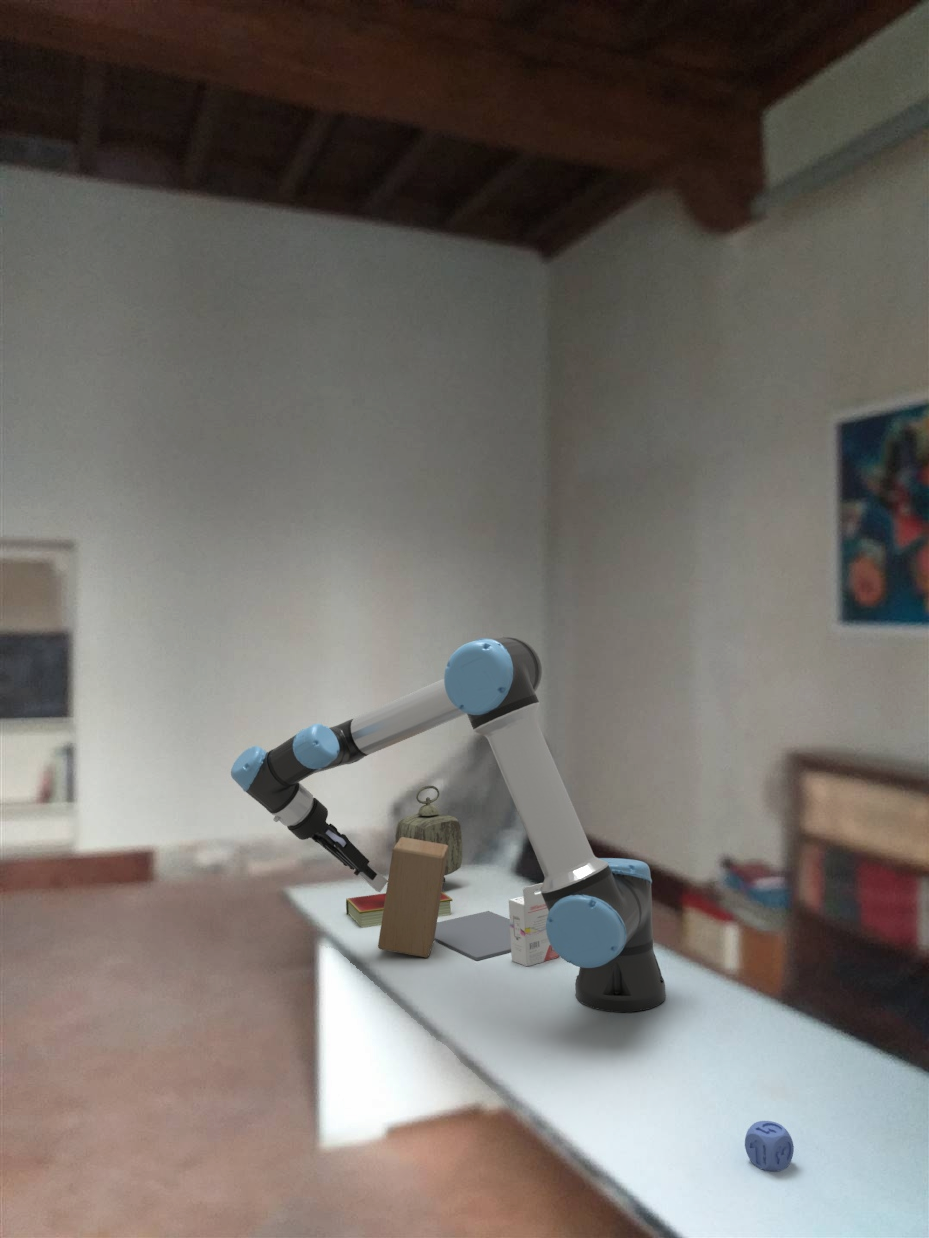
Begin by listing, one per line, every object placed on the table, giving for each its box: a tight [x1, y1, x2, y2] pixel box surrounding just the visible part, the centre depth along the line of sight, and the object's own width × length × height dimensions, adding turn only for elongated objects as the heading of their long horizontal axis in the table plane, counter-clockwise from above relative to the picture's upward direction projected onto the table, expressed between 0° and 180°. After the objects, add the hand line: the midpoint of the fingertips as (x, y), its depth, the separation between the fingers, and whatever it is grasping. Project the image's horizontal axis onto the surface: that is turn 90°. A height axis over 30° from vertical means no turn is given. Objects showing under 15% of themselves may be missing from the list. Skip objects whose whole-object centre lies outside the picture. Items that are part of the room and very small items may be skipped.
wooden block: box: [377, 837, 449, 958], centre depth 200 cm, size 10×10×20 cm
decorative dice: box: [744, 1120, 795, 1172], centre depth 119 cm, size 4×4×4 cm
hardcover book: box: [345, 891, 453, 928], centre depth 225 cm, size 12×21×4 cm, turn 111°
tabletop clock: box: [394, 785, 463, 884], centre depth 245 cm, size 14×9×25 cm, turn 130°
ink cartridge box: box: [508, 882, 560, 967], centre depth 193 cm, size 9×5×15 cm, turn 126°
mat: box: [434, 910, 511, 962], centre depth 208 cm, size 24×19×1 cm
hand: (382, 885), depth 198 cm, fingers closed
